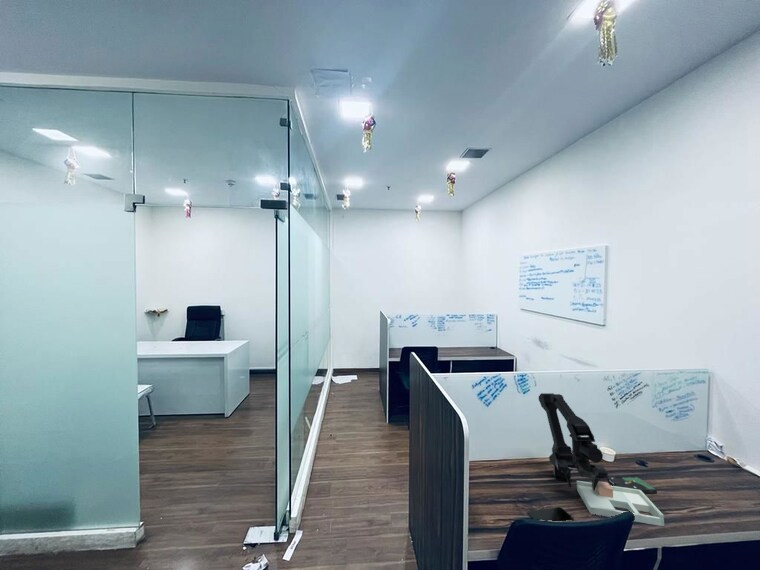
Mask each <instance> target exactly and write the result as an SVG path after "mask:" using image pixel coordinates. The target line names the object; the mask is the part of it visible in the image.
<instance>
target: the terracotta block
mask: <svg viewBox="0 0 760 570" xmlns="http://www.w3.org/2000/svg"><path fill="white" fill-rule="evenodd" d="M611 486H612V485H611V484H610V483H609V482H608V481H606V482H605V481H601V480H599V482H598V483H597V486H596V488H595V490H596V491H597V493H598V494H599V496H605V497H611V498H613V489H612V487H611Z"/></svg>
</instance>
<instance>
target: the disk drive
mask: <svg viewBox="0 0 760 570" xmlns="http://www.w3.org/2000/svg"><path fill="white" fill-rule="evenodd" d="M606 479H607V483H609V485H610V486H612V485H613V486H617V487H624V488H631V489H638V490H641V491H642V492H643V493H644V494H657V495H658V490H657V488H655V487H654V486H653V485H651V484H649V483H648V482H645V481H644V480H642V478H640V477H636V476H608V478H606Z"/></svg>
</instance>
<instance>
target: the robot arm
mask: <svg viewBox="0 0 760 570" xmlns="http://www.w3.org/2000/svg"><path fill="white" fill-rule="evenodd" d="M538 401H539V404H540V406H541V408H542V409H543V410H544V411H545V413H546V417H547V422H548V425H549V429H550V433H551V436H552V437H551V438H552V441H553V445H552V448H551V452H552V453H551V454H550V455H549V457H548V458H549V463H551V464H552V466H553V467H552V468H553V471H552V476H553V477H554V479H555V480H556V481H557V480H558V481H565V482H567V484H568V486H569V488H571V487H572V482H571V481H572V480H571V479H572V475H571V473H572V472H571V470H577V473H578V476H580V477H581V478H589V479H591V483H592V489H593V491H595V488H596V486H597V483H598V482H599V481H601V480H604V479H607V478H608V477H609V472H608V471H607V469H606V468H605V467H604V466H603V465H602V464H597V463H600V462H601V461H602V460H603V458H604V457H603V456H604V454H603V453H602V450H600V449H599V448H598V445H597V444H596V443H595V442H596V440H595V435H594V434H593V432H592V430H591V428H590V426H589V424H588V423H587V422H586V421H585V420H584V419H583V418H581V417H580V416H577V415H576V414H575V412H574V411H573V410H572V408H571V407H570V406H569V404H568V403H567V402H566V400H565V399H564V396H563V395H562V394H560V393H559V394H557V393H556V394H555V393H553V392H552V393H551V392H549V393H546V392H545V393H544V392H543V393H540V394H539V395H538ZM558 411H559V413H560V414H561V416H562V417H563V418H564V420H565V422H566V427H567V429H568V432H569V433H570V434H569V435H568V436H569V437H570V438H571V446H569V445H568V444H567V443H566V442H565V438H564V434H563V430H562V427H561V423H560V419H559V415H558ZM590 461H591V462H592V463H593V464H591V463H590ZM594 463H595V464H594Z"/></svg>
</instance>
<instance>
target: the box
mask: <svg viewBox="0 0 760 570" xmlns="http://www.w3.org/2000/svg"><path fill="white" fill-rule="evenodd" d="M610 486H611V487H612V489H613V498H611V497H605V496H599V494H598V493H597V491H596V490H595V491H593V489H592V482H590V481H589V482H588V481H581V480H576V490H577V492H578V494H579V496H580V498H581V500H582V501H583V504H584V505H585V506H586V508H587V510H588V511H589V514H590V515H595V514H596V515H597V516H601V515H602V516H601V517H606V518H612V517H611V516H615V515H618V514H621V513H623V512H626V511H624V510H618V509H616V508H619V509H627V510H628V512H629V511H630V512H632V513H633V514H634V516H635V520H634V521H633V522H636V523H643V524H648V525H654V526H658V527H659V526H660V527H665V515H664V514H663V513H662V512H661V511H660V509H658V508H657V506H656V505H655V504H654V503H653V502H652V501H651V500H650V499H649V497H648V495H645V494H644V493H643V492H642V491H641V490H638V489H631V488H624V487H617V486H612V485H610ZM640 512H645V513H649V514H650V515H647V514H642V513H640Z"/></svg>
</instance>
